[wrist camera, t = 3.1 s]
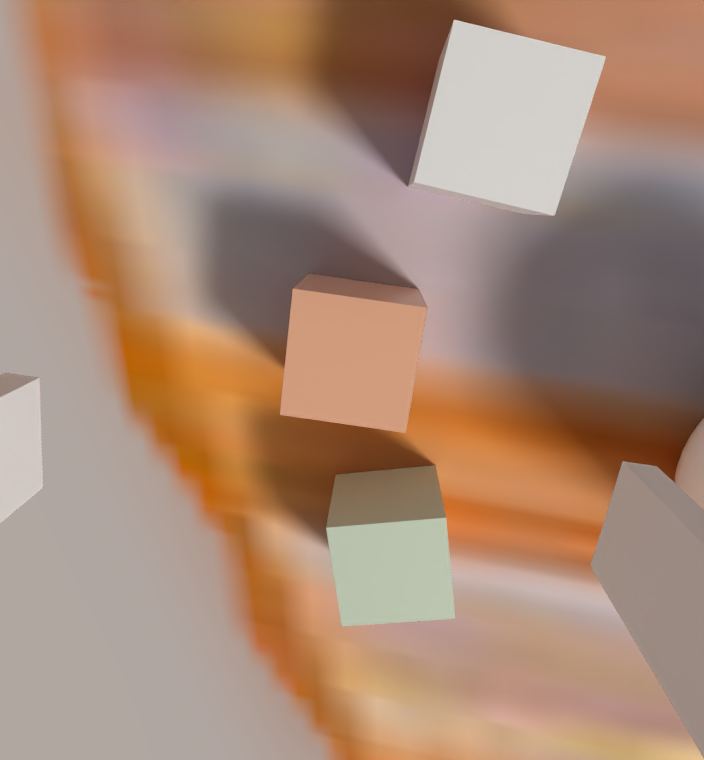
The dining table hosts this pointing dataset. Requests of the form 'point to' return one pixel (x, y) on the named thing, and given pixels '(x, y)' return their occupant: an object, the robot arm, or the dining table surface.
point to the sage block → (390, 547)
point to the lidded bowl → (692, 466)
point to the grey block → (504, 119)
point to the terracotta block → (352, 352)
